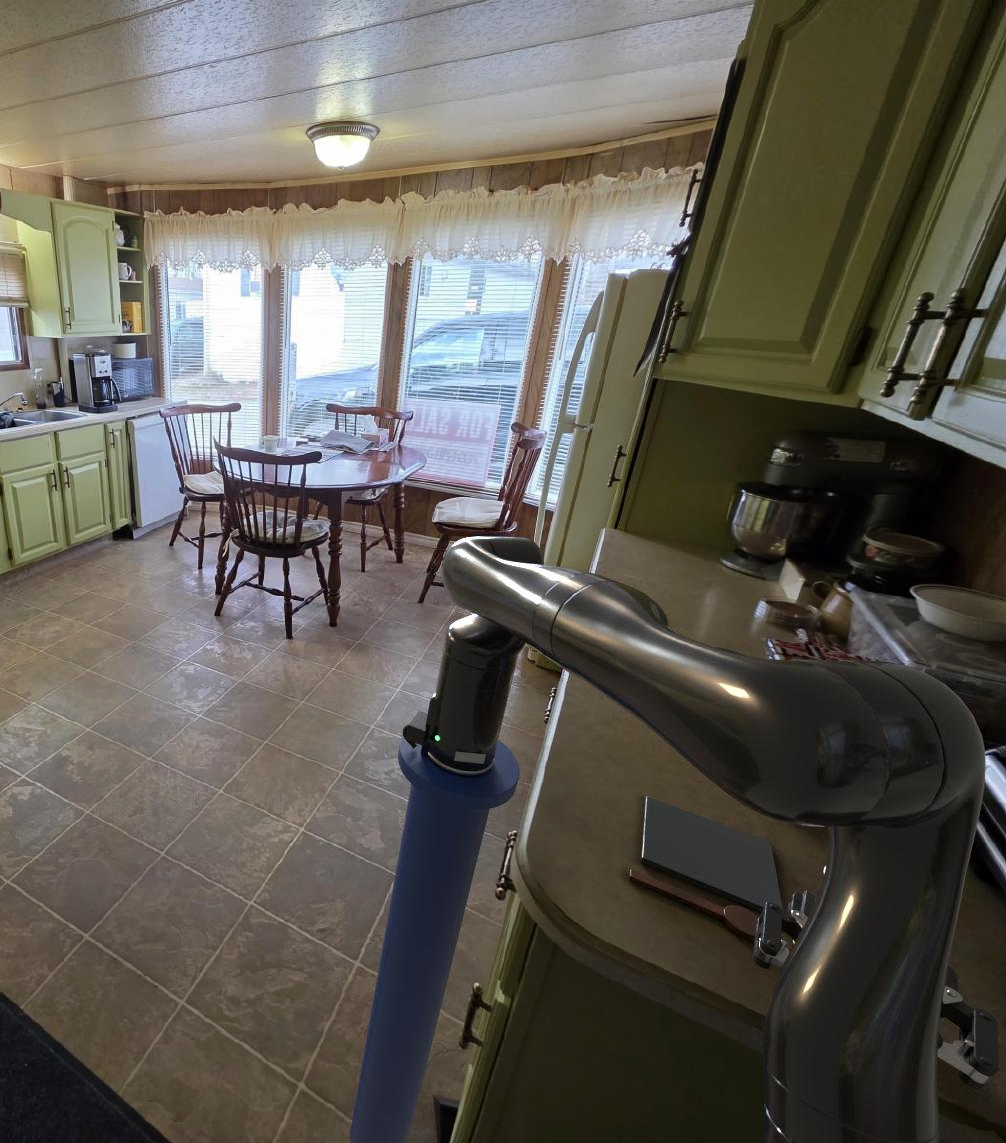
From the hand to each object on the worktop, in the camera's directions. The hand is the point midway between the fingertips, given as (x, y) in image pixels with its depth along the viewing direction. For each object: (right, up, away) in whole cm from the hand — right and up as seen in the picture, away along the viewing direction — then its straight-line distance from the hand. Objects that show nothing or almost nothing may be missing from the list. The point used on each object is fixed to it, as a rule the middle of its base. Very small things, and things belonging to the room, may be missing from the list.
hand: (866, 928), depth 55 cm
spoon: (-8, -4, +11) cm, 14 cm away
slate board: (-2, -1, +17) cm, 17 cm away
